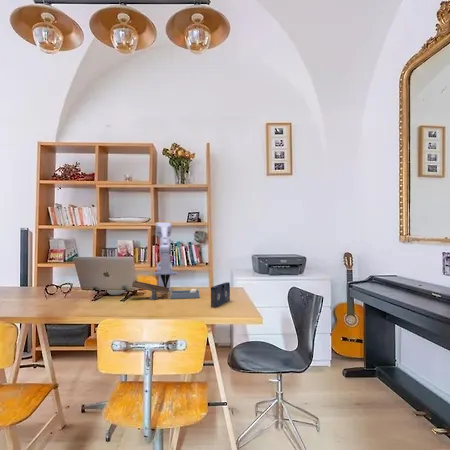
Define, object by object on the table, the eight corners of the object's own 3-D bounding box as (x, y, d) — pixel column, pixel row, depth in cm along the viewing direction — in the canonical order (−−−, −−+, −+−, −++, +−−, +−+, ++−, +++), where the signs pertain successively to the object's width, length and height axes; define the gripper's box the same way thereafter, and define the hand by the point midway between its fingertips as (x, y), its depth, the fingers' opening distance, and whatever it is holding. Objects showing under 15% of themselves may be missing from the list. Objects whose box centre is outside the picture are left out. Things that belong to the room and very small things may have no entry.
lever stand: (151, 296, 199) (151, 286, 199) (158, 296, 199) (158, 286, 199) (149, 300, 188) (149, 289, 188) (157, 299, 189) (157, 289, 189)
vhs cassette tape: (226, 300, 187) (225, 282, 187) (230, 300, 186) (230, 282, 186) (209, 307, 170) (209, 287, 171) (215, 307, 169) (214, 287, 169)
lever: (135, 282, 204) (136, 277, 204) (168, 289, 206) (169, 284, 206) (131, 286, 189) (133, 281, 189) (167, 294, 191) (169, 288, 192)
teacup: (127, 292, 211) (127, 279, 211) (120, 296, 200) (120, 282, 200) (106, 292, 212) (106, 279, 212) (97, 296, 201) (97, 282, 201)
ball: (197, 292, 199) (191, 296, 199) (194, 286, 199) (188, 290, 199) (198, 294, 195) (192, 297, 195) (195, 288, 195) (188, 291, 195)
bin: (170, 296, 199) (170, 289, 200) (198, 295, 202) (198, 288, 202) (170, 299, 191) (170, 291, 191) (199, 298, 193) (199, 290, 193)
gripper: (152, 265, 199) (152, 289, 199) (177, 265, 201) (177, 288, 201) (153, 264, 206) (153, 287, 206) (177, 263, 208) (177, 286, 208)
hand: (165, 287), depth 204 cm, fingers closed, pressing on lever
